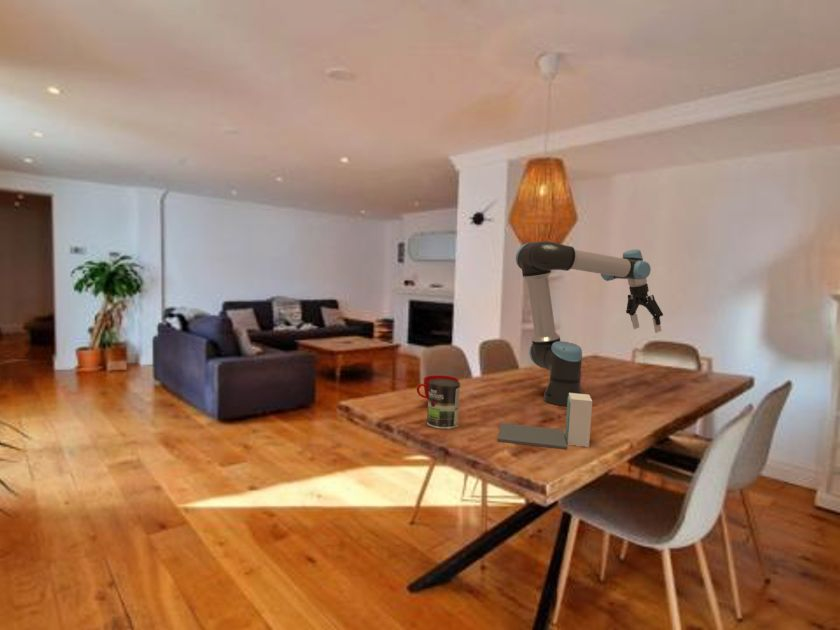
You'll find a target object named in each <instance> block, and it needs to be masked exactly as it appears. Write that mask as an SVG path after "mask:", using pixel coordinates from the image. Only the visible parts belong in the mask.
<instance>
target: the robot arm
mask: <svg viewBox="0 0 840 630" xmlns="http://www.w3.org/2000/svg"><path fill="white" fill-rule="evenodd" d="M641 251H642V250H640V249H632V250H626V251H624V252H623V253H622V257H618V256H611V255H607V254H601V253H594V252H590V251H583V250H577V249H575V247H574V246H569V245H566V244H561V243H558V242H554V241H550V240H547V241H546V240H542V241H531V242H526V243H523V244H522V245H521V246H520V247H519V249H518V250H517V251H516V254H515V263H516V265H517V266H518V268H519V269H521V275H522V278H524V279H525V280H526V281H527V289H528V295H529V302H530V303H529V304H530V311H531V317H532V323H533V331H534V336H533V337H532V338H531V346H530V347H529V349H528V350H529V357H530V359H531V362H532V363H534V364H535V366H537V367H539V368H542V369H545V370H548V371H549V382H548V385H547V387H546V389H545V391H544V393H543V400H544V402H547V403H550V404H552V405H557V406H562V407H563V406H565V407H567V401H568V396H569V393H577V394H583V392H582V391H583V390H582V389H581V372H582V360H583V349H582V347H581V346H580V345H578V344H576V343H573V342H568V341H561V336H560V335H559V334H558V333H557V332H556V326H555V319H554V313H553V311H554V310H553V305H552V297H551V290H550V285H549V284H550V283H549V282H550V281H549V277H550V275H551V274H552V271H567V272H568V271H571V270H576V271H582V272H588V273H595V274H599V275H600V277H601V278H602V279H603V280H604V281H607V282H608V281H614V280H615V279H617V280H619V279H622V280H627V283H628V286H629V287H628V289H629V293H630V294H627V304H626V305H627V306H626V310H625V314H628V315H630V320H631V323H632V329H633V330H637V329H639V328H640V323H639V319H638V314H637V310H638V307H639V306H643V307H644V308H646V309H647V311H648V312H649V314H650V315H651V316H652V321H653V322H652V323H653V327H654V333H655V334H656V333H660V332H662V326H661V318H660V317H663V316H664V314H663V312H662V309H661V308H660V306H659V305H658V303H657V301H656V299H655V296H654V294H652V295H648V293H649V290H650V289H649V286H648V285H649V284H648V283H647V282H648V280H647V278H648V277H649V276H650V273H651V265H650V264H649V262H648V261H646V260H644V258H643V254H642V252H641Z"/></svg>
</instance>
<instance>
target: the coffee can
mask: <svg viewBox="0 0 840 630" xmlns="http://www.w3.org/2000/svg"><path fill="white" fill-rule="evenodd" d="M460 388H461V382H460V381H459V382H458V381H455V380H450V379H432V380H430V381H429V395H428V399H427V416H426V417H427V419H426V424H427V426H429V427H430V428H435V429H438V430H439V429H440V430H451V429H455V428H457V427H458V425H459V424H458V419H459V404H460Z"/></svg>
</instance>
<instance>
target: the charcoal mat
mask: <svg viewBox="0 0 840 630" xmlns="http://www.w3.org/2000/svg"><path fill="white" fill-rule="evenodd" d="M497 442H501V443H510V444H517V445H525V446H526V445H527V446H533V447H543V448H550V449H551V448H552V449H559V450H568V444H567V440H566V435H565V431H564V429H559V428H551V427H541V426H533V425H523V424H514V423H505V422H500V426H499V431H498V436H497Z"/></svg>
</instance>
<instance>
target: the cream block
mask: <svg viewBox="0 0 840 630" xmlns="http://www.w3.org/2000/svg"><path fill="white" fill-rule="evenodd" d="M592 410H593V400H592V398H591V396H590V394H586V393H582V394H577V393H569V396H568V401H567V406H566V415H565V416H566V417H565V431H564V434H565V439H566V443H567V446H572V445H576V446H575V447H581V446H585V447H584V448H589V447H590V439H591V423H592V413H593V412H592Z"/></svg>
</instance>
